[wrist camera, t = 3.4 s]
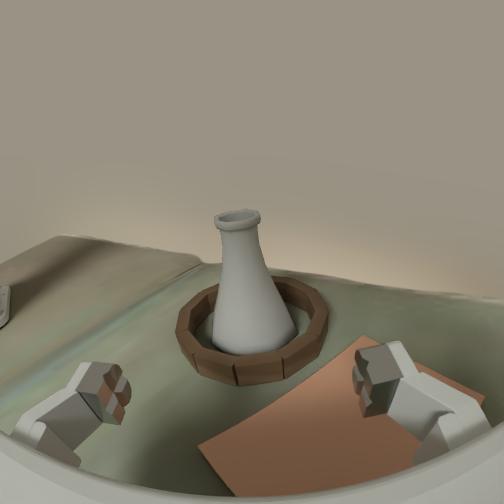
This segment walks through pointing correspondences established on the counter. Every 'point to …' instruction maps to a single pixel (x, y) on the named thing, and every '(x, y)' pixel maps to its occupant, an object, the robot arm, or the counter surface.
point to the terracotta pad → (315, 437)
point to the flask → (247, 292)
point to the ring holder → (260, 364)
